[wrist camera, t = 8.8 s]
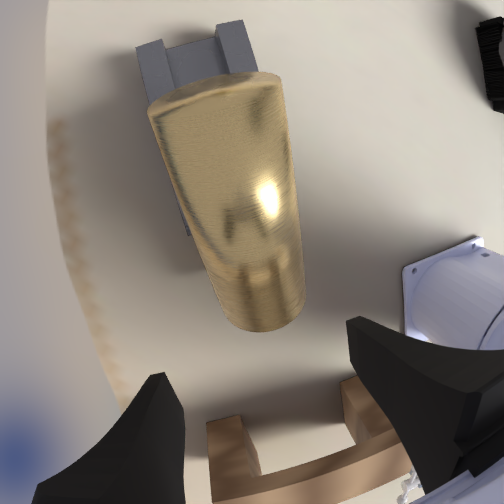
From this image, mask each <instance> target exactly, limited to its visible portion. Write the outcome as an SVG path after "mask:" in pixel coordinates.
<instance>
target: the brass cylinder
mask: <svg viewBox="0 0 504 504" xmlns="http://www.w3.org/2000/svg"><path fill="white" fill-rule="evenodd" d="M147 114H148V117H149V120H150V123H151V126H152V129H153V131H154V134H155V137H156V140H157V143H158V146H159V148H160V151H161V154H162V157H163V160H164V162H165V165H166V168H167V171H168V173H169V176H170V179H171V181H172V184H173V187H174V189H175V192H176V195H177V197H178V200H179V203H180V205H181V208H182V211H183V213H184V216H185V218H186V221H187V223H188V226H189V229H190V231H191V234H192V236H193V239H194V241H195V244H196V246H197V249H198V251H199V254H200V256H201V259H202V261H203V264H204V266H205V269H206V271H207V273H208V276H209V278H210V281H211V283H212V285H213V288H214V290H215V293H216V295H217V297H218V300H219V302H220V304H221V307H222V309H223V312H224V314H225V315H226V317H227V318H228V320H229V321H230V322H231V323H232V324H234V325H235V326H237V327H239V328H241V329H243V330H246V331H251V332H268V331H273V330H276V329H279V328H281V327H283V326H285V325H287V324H288V323H290V322H291V321H292V320H294V319H295V318H296V317H297V315H298V314H299V313H300V312H301V310H302V308H303V306H304V304H305V300H306V287H305V275H304V263H303V252H302V242H301V232H300V222H299V212H298V203H297V194H296V185H295V177H294V169H293V161H292V153H291V145H290V138H289V130H288V123H287V116H286V109H285V102H284V96H283V89H282V83H281V78H280V77H279V76H277V75H275V74H271V73H266V72H239V73H231V74H224V75H219V76H214V77H210V78H206V79H202V80H199V81H196V82H193V83H190V84H187V85H184V86H182V87H179V88H177V89H175V90H173V91H171V92H169V93H167V94H165V95H163V96H161V97H160V98H158V99H157V100H156V101H154V102H153V103H152V104H151V105H150V106H149V107H148V109H147Z"/></svg>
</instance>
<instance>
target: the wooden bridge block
mask: <svg viewBox="0 0 504 504" xmlns="http://www.w3.org/2000/svg"><path fill="white" fill-rule="evenodd" d="M340 389H341V397H342V404H343V412H344V420H345V424H346V426H347V428H348V430H349V432H350V434H351V436H352V438H353V440H354V442H355V443H356V445H354V446H352V447H349V448H347V449H344V450H342V451H339V452H336V453H334V454H331V455H328V456H325V457H322V458H320V459H317V460H314V461H311V462H308V463H305V464H301V465H298V466H295V467H292V468H288V469H285V470H281V471H278V472H274V473H270V474H267V475H263V476H262V473H261V468H260V464H259V459H258V455H257V451H256V449H255V447H254V445H253V443H252V441H251V438H250V436H249V434H248V432H247V430H246V428H245V426H244V423H243V421H242V419H241V417H240V415H236V416H232V417H228V418H224V419H220V420H216V421H212V422H207V423H206V426H207V443H208V458H209V471H210V484H211V496H212V503H213V504H337V503H340V502H343V501H345V500H348V499H350V498H353V497H356V496H358V495H361V494H363V493H365V492H368V491H370V490H373V489H375V488H377V487H379V486H382V485H384V484H386V483H388V482H390V481H392V480H395V479H397V478H399V477H401V476H403V475H405V474H407V473H409V472H410V471H411V466H412V462H411V460H410V458H409V456H408V454H407V452H406V450H405V448H404V446H403V444H402V442H401V440H400V438H399V437H398V435H397V433H396V431H395V429H394V427H393V426H392V424H391V422H390V421H389V419H388V418H387V416H386V415H385V414H384V412H383V411H382V409H381V408H380V407H379V405H378V404H377V403H376V401H375V400H374V399H373V397H372V396H371V394H370V393H369V392H368V390H367V389H366V388H365V386H364V385H363V383H362V382H361V381H360V379H359V377H358V376H355V377H353V378H350V379H347V380H345V381H342V382H340Z"/></svg>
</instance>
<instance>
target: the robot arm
mask: <svg viewBox="0 0 504 504" xmlns="http://www.w3.org/2000/svg"><path fill="white" fill-rule="evenodd" d="M472 244H473V245H472ZM414 268H415V269H414ZM413 269H414V271H413V272H412V270H413ZM402 277H403V293H404V316H405V335H404V334H401V333H399V332H396V331H394V330H392V329H389V328H387V327H384V326H382V325H380V324H378V323H375V322H373V321H371V320H369V319H366V318H364V317H361V316H358V317H356V318H353V319H350V320H347V321H346V326H347V335H348V344H349V354H350V362H351V364H352V366H353V368H354V369H355V371H356V373H357V375H358V377H359V379H360V381H361V382H362V383H363V385H364V386H365V388H366V389H367V390H368V392H369V393H370V394H371V396H372V397H373V399H374V400H375V401H376V403H377V404H378V405H379V407H380V408H381V409H382V411H383V412H384V414H385V415H386V416H387V418H388V419H389V421H390V422H391V424H392V426H393V427H394V429H395V431H396V433H397V435H398V437H399V438H400V440H401V442H402V444H403V446H404V448H405V450H406V452H407V454H408V456H409V458H410V460H411V462H412V465H413V467H414V469H415V471H416V473H417V476H418V478H419V480H420V483H421V485H422V488H423V490H424V493H425V496H423V497H421V498H419V499H417V500H415V501H413V502H411V503H409V504H504V256H503V255H500V254H498V253H496V252H493V251H491V250H489V249H486V248H484V241H483V238H482V237H480V236H478V237H476V238H473V239H471V240H469V241H466V242H464V243H462V244H459V245H457V246H455V247H452V248H450V249H447V250H445V251H443V252H440V253H438V254H435V255H433V256H430V257H428V258H425V259H423V260H420V261H418V262H415V263H413V264H410V265H408V266H406V267H405V268H404V269H403V271H402ZM427 340H430V341H431V342H432V343H429V342H425V341H427ZM433 343H434V344H433ZM184 449H185V421H184V411H183V407H182V405H181V403H180V401H179V399H178V398H177V396H176V394H175V392H174V390H173V388H172V386H171V384H170V382H169V380H168V378H167V376H166V374H165V372H162V373H158V374H153V375H150V376H149V377H148V379H147V380H146V381H145V383H144V384H143V386H142V387H141V389H140V390H139V392H138V393H137V395H136V396H135V398H134V399H133V400H132V402H131V403H130V405H129V406H128V408H127V409H126V410H125V412H124V413H123V414H122V415H121V417H120V418H119V420H118V421H117V422H116V423H115V424H114V426H113V427H112V428H111V429H110V430H109V432H108V433H107V434H106V435H105V436H104V437H103V438H102V439H101V440H100V441H99V442H98V443H97V444H96V445H95V446H94V447H93V448H91V449H90V450H89V451H88V452H87V453H86V454H84V455H83V456H82V457H81V458H80V459H78V460H77V461H76V462H74V463H73V464H72V465H70V466H69V467H67V468H66V469H64V470H63V471H61V472H59V473H58V474H56V475H54V476H52V477H51V478H49V479H47V480H45V481H43V482H41V483H39V484H38V485H37V488H36V491H35V494H34V497H33V500H32V503H31V504H186V502H185V493H184V478H183V473H184Z"/></svg>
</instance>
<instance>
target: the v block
mask: <svg viewBox="0 0 504 504" xmlns="http://www.w3.org/2000/svg"><path fill="white" fill-rule="evenodd" d="M135 48H136V52H137V57H138V61H139V65H140V69H141V73H142V77H143V81H144V85H145V89H146V93H147V97H148V101H149V105H151V104H152V103H153V102H154V101H156V100H157V99H158V98H160V97H161V96H163V95H165V94H167V93H169V92H171V91H173V90H175V89H177V88H179V87H182V86H184V85H187V84H190V83H193V82H196V81H199V80H202V79H206V78H210V77H214V76H219V75H224V74H231V73H239V72H259V71H258V67H257V64H256V61H255V57H254V54H253V51H252V48H251V44H250V41H249V38H248V35H247V32H246V28H245V25H244V22H243V20H238V21H232V22H227V23H222V24H217V25H216V29H215V37H213V38H208V39H204V40H200V41H196V42H192V43H189V44H185V45H181V46H178V47H174V48H171V49H167V50H166V49H165V46H164V43H163V41H162V39H160V40H156V41H153V42H150V43H147V44H144V45H141V46H138V47H135ZM171 182H172V181H171ZM172 186H173V184H172ZM173 189H174V187H173ZM174 192H175V189H174ZM175 196H176V199H177V202H178V205H179V209H180V212H181V215H182V218H183V221H184V224H185V227H186V231H187V234H188V236H189V235H192V234H191V231H190V229H189V226H188V223H187V221H186V218H185V216H184V213H183V211H182V208H181V205H180V203H179V200H178V197H177V195H176V192H175Z"/></svg>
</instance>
